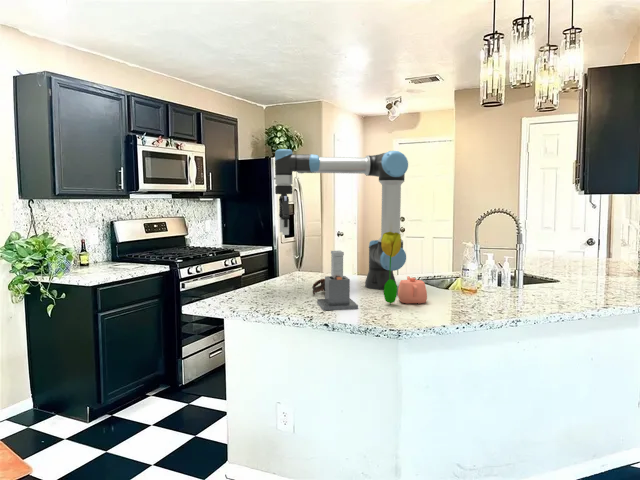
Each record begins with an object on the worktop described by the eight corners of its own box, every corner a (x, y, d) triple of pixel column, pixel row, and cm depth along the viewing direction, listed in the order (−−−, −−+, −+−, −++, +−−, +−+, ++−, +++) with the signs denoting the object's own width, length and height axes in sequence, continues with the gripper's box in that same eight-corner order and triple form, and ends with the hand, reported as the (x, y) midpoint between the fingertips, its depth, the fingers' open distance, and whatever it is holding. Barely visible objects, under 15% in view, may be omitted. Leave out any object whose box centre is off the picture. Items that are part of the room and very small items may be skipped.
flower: (379, 302, 202) (380, 231, 200) (398, 302, 202) (399, 231, 199) (381, 307, 194) (382, 233, 191) (401, 307, 194) (402, 233, 191)
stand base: (349, 301, 204) (349, 272, 203) (358, 309, 190) (358, 277, 189) (317, 302, 202) (317, 273, 200) (323, 310, 188) (323, 279, 187)
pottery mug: (336, 298, 213) (327, 283, 211) (317, 306, 215) (308, 291, 213) (337, 286, 224) (328, 271, 222) (319, 294, 226) (311, 280, 224)
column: (340, 299, 199) (340, 250, 197) (343, 303, 193) (344, 252, 191) (330, 300, 198) (330, 250, 196) (333, 303, 193) (333, 252, 191)
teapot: (401, 306, 195) (402, 281, 194) (394, 297, 213) (395, 273, 212) (429, 306, 195) (430, 281, 194) (420, 297, 213) (421, 274, 212)
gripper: (273, 185, 222) (273, 231, 224) (277, 184, 197) (278, 236, 199) (289, 185, 223) (289, 231, 225) (295, 184, 198) (296, 235, 200)
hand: (284, 233), depth 212 cm, fingers open, 13 cm apart
